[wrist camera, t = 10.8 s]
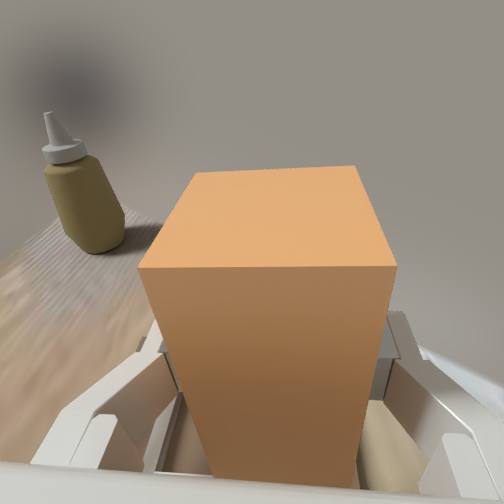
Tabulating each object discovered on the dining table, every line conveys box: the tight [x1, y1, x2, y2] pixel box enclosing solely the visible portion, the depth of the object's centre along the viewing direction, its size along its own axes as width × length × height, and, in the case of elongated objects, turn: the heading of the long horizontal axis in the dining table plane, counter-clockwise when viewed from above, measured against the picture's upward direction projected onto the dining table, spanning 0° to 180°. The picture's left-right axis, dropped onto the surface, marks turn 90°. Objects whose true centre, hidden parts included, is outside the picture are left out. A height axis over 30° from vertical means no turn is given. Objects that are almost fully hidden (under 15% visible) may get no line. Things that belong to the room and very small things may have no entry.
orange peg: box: [137, 166, 397, 489], centre depth 9 cm, size 4×4×10 cm
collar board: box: [134, 337, 360, 489], centre depth 23 cm, size 18×16×2 cm
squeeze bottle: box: [42, 112, 125, 254], centre depth 42 cm, size 8×8×18 cm
